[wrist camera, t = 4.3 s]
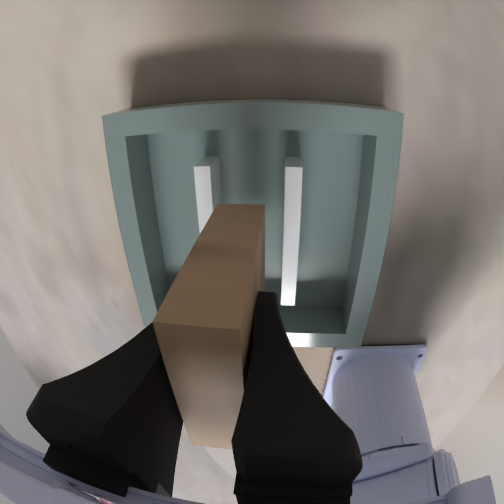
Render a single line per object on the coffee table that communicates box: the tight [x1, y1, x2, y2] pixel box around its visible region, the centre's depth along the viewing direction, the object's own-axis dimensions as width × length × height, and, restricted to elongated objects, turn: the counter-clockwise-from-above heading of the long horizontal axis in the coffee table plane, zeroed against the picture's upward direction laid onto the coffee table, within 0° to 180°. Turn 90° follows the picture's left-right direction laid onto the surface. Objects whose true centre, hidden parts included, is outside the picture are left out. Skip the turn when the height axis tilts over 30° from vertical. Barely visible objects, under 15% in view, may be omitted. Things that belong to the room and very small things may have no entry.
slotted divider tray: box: [102, 99, 404, 347], centre depth 18 cm, size 14×14×3 cm
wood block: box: [152, 204, 265, 450], centre depth 12 cm, size 6×2×8 cm, turn 1°
